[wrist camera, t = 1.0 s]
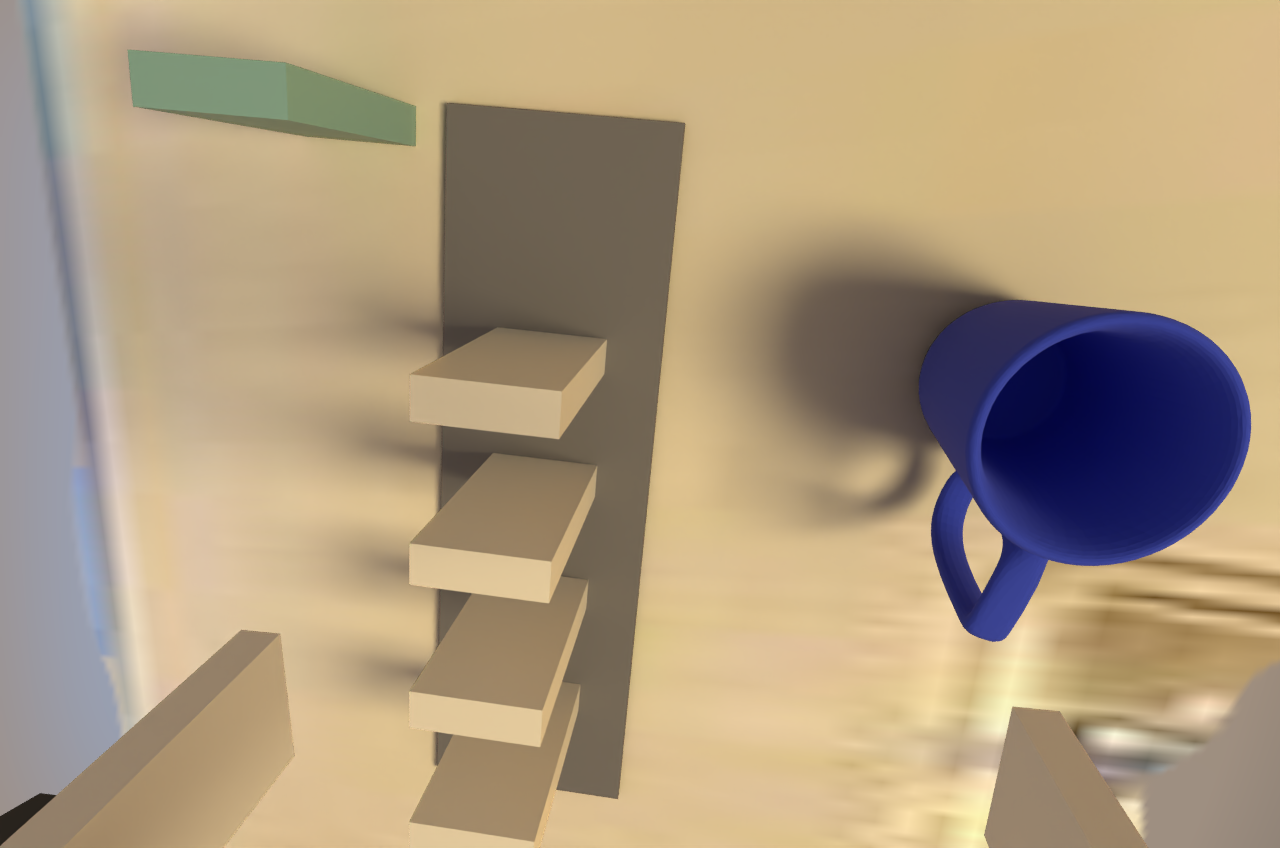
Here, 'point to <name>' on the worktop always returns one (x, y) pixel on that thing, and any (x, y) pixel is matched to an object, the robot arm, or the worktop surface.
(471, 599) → the domino
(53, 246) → the worktop surface
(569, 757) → the mat
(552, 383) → the domino
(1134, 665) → the worktop surface
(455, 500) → the domino
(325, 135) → the green domino
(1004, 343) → the mug
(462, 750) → the domino
